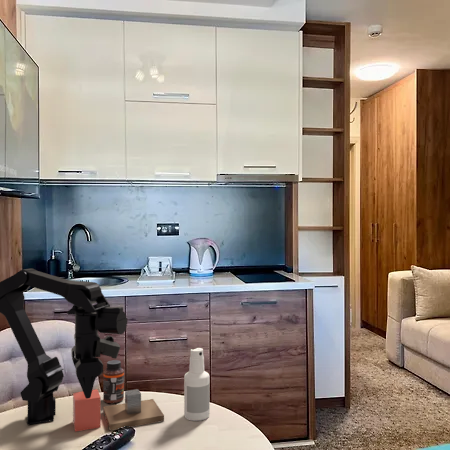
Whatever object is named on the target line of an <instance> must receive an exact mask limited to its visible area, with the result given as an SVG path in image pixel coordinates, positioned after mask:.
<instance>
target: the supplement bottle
mask: <svg viewBox="0 0 450 450" xmlns="http://www.w3.org/2000/svg"><path fill="white" fill-rule="evenodd" d="M102 383H103V389H102V391H103V392H102V393H103V395H102V396H103V397H102V398H103V402H104V403H107V404H119V403H121V402H122V401H123V400H125V370H124V368H123V367H122V362H121V360H119V359H118V360H117V359H114V360H108V361H107V362H106V369H103V381H102Z"/></svg>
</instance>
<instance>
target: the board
mask: <svg viewBox="0 0 450 450" xmlns="http://www.w3.org/2000/svg"><path fill="white" fill-rule="evenodd" d="M102 413H103V415H104V419H105V421H106V424H107V426H108V430H109V431H116V430H119V429H118V428H121V427H124V426H130V427H129V428H133V427H138V426H142V425H149V424H154V423H155V424H156V423H161V422H165V414H164V413H163V412H162V410H161V408H160V407H159V406H158V404H157V402H156V401H155V399H154V398H151V399H144V400H143V399H142V400H141V412H140V413H134V414H128V415H127V412H126V410H125V402H124V403H120V404H119V403H117V404H112V405H106V406H103V412H102Z"/></svg>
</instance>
